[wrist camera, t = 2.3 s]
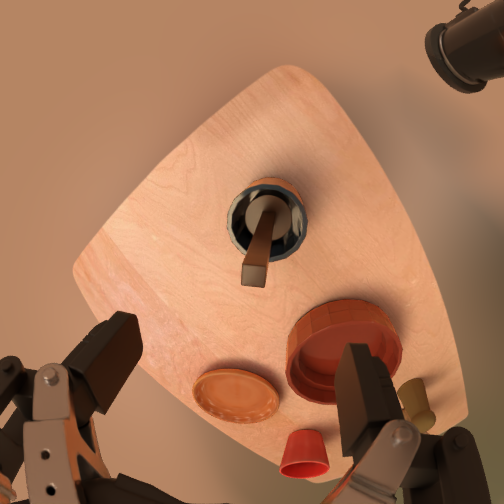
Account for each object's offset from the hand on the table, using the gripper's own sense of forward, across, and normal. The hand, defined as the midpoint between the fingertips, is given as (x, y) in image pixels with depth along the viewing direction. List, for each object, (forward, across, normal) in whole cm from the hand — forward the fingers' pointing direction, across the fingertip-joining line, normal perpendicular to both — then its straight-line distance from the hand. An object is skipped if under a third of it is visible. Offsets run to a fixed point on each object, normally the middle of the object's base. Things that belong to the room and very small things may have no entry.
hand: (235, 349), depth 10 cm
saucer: (+26, +3, +34) cm, 43 cm away
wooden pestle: (+25, 0, 0) cm, 25 cm away
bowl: (+26, -13, +20) cm, 35 cm away
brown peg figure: (+26, -32, +32) cm, 52 cm away
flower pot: (+26, -13, +50) cm, 58 cm away
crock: (+26, 0, 0) cm, 26 cm away
